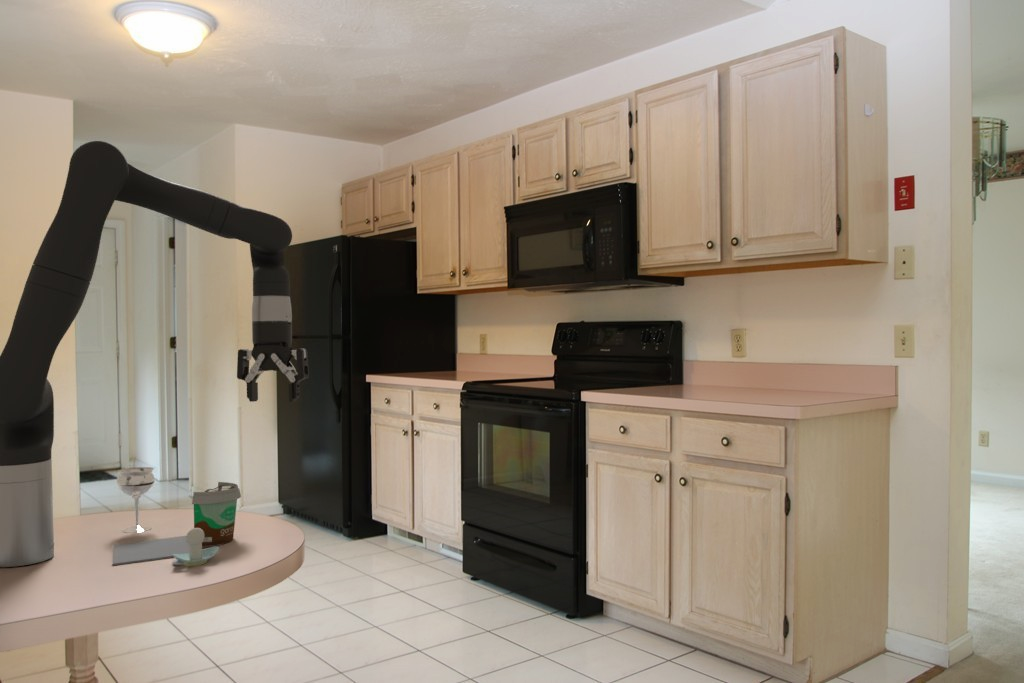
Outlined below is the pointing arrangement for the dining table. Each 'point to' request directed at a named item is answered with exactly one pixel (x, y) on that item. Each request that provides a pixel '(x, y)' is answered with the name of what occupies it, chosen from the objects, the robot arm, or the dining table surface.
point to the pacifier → (195, 550)
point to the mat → (149, 550)
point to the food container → (216, 513)
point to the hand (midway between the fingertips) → (273, 401)
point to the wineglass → (136, 488)
